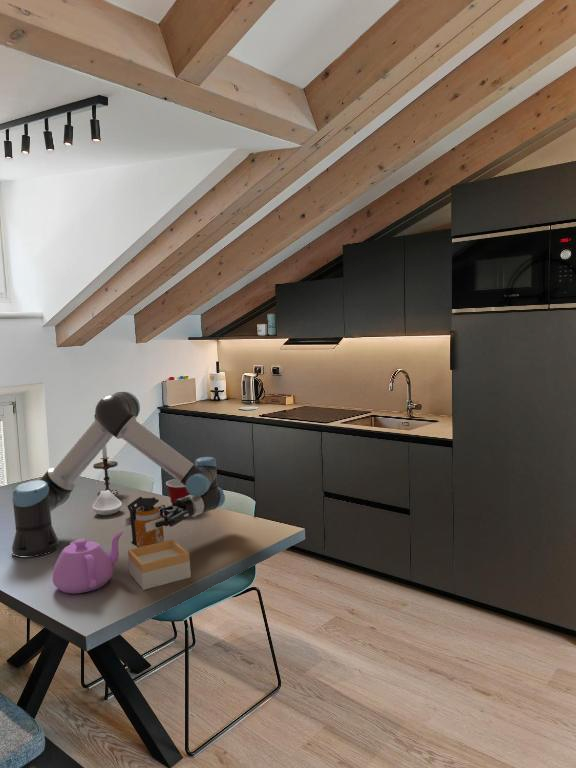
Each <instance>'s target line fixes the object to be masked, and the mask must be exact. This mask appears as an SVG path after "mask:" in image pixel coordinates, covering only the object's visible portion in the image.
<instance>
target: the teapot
mask: <svg viewBox="0 0 576 768" xmlns="http://www.w3.org/2000/svg"><path fill="white" fill-rule="evenodd" d="M124 532H125V531H124V530H123V531H120V532H117V533H116V534H115V535H113V537H112V539H111V549H110V551H109V552H108V553H107V552H106V551H105V549H104V548H103V547H102V545H100V544H99V543H98V542H96V541H91V540H90V541H88V540H87V539H85V538H79V539H76V540H74V541H71V542H69V545H67V546H65V547H64V548H63V549H62V551H61V552H60V554H59V556H58V558H57V560H56V562H55V564H54V568H53V572H52V583H53V585H54V587H56V588H57V589H58V590H59V591H61V592H63V593H66V594H81V593H87V592H88V593H89V592H92V591H94V590H97V589H100V588H102V587H103V586H105V585H106V584H107V583H108V582H109V581H110V579H111V577H112V576H113V573H114V566H115V565H116V564H117V562H118V558H119V552H120V551H119V540H120V538H121V536H122V535H123V534H124Z"/></svg>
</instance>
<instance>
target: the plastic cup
mask: <svg viewBox="0 0 576 768" xmlns="http://www.w3.org/2000/svg"><path fill="white" fill-rule="evenodd" d="M165 484H166V486H167V491H168V494H169V497H170V498H169V499H170V503H171V505H173V504H174V502H175V501H176V500H177V499H180V498H183V497H186V496H188V495H190V494H189V493H188V492H187V490H186V486H185V485H184V484H182V483H181V482H180V481H178V480H177V479H176V478H174V479H170V480H168V481H166V482H165Z"/></svg>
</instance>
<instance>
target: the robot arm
mask: <svg viewBox="0 0 576 768" xmlns="http://www.w3.org/2000/svg"><path fill="white" fill-rule="evenodd" d="M140 405H141V404H140V402H139V400H138V398H137V396H136V395H134V394H133V393H131V392H128V391H117V392H115V393H113V394H110V395H106V396H104V397H103V398H100V399H99V401H98V402H97V403H96V405H95V406H96V407H95V411H94V415H93V416H94V421H93V422H92V423H91V425H90V426H89V427H88V428H87V430H86V431H85V432H84V433H83V434H82V436H81V437H80V438H79V439H78V441H77V442H76V443H75V444H74V445H73V446H72V448H71V449H70V450H69V451H68V452H67V453H66V455H65V456H64V457H63V458H62V459H61V461H60V462H59V463H58V464H57V466H56V467H54V466H53V467H50V468H49V469H48V470H47V471H46V472H45V473H44V474H43V476H42V477H41V478H40V479H37V480H29V481H26V482H22V483H20V484H19V485H17V486H16V487H15V488H14V489H13V490H12V504H13V505H12V506H13V515H14V516H13V517H14V523H15V524H14V525H15V533H14V537H13V542H12V546H11V550H12V551H11V553H12V552H13V553H12V555H13V554H15V555H18V556H36V555H40V556H42V555H41V554H44V555H46V554H45V553H47V554H49V553H48V552H50V553H52V552H54V551H56V550H57V549H58V548H59V547H58V546H60V545H59V544H60V543H59V542H60V541H59V538H58V535H57V534H56V532H55V530H54V527H53V524H52V513H51V512H52V511H54V510H55V509H57V508H58V507H60V506H61V505H63V504H65V503H66V502H67V501H68V499H69V498H70V496H71V494H72V492H73V491H74V489H75V488H76V480H77V479H78V478H79V477H80V476H81V475H82V474H83V472H85V470H86V469H87V468H88V466H89V465H90V464H91V463H92V461H93V460H94V459H95V458H96V457H97V456H98V455H99V454H100V452H102V448H103V447H104V446H105V445H106V446H107V444H108V442H110V441H111V439H112V438H113V437H114V438H116V439H118V440H119V439H122V440H123V441H125V442H126V443H128V444H129V445H130V446H132V447H133V448H134V449H136V450H137V451H138V452H140V453H141V454H142V455H144V456H145V457H147V458H148V460H151V462H153V463H155V464H156V465H157V466H158V467H160V468H161V469H163V470H164V471H165V472H166V473H168V475H170V476H172V477H173V478H174V479H177V480H178V481H180V482H181V483H182V484H184V485H185V486H186V490H187V492H188V493H189V495H188V496H186V497H183V498H180V499H177V500H176V501H175V502H174V504H173V505H172V504H170V505H167V506H166V505H165V504H162V505H158V506H157V507H158V508H159V510H160V516H162V518H160V519H157V520H154V521H151V522H148V523H145V526H146V532H149V531H152V530H154V529H157V528H160V527H163V528H164V527H168V526H169V527H174V526H175V525H177V524H179V523H181V522H183V521H185V520H188V519H190V518H192V517H193V518H196V517H197V516H198V515H200V514H203V513H207V512H209V511H212V510H213V511H214V510H216V509H218V508H220V507H222V506H223V505H224V503H225V502H226V501H225V500H226V495H225V494H224V490H223V489H222V488H221V487H219V486H218V473H217V471H218V470H217V468H218V465H217V460H216V458H215V457H212V456H203V457H198V458H197V459H195V461H194V462H191V461H190V460H189V459H187V458H186V457H185V456H183V455H182V454H181V453H180V452H178V451H177V450H176V449H174V448H173V447H172V446H171V445H169V444H168V443H166V442H165V441H164V440H162V439H161V438H160V437H158V436H157V435H155V434H154V433H153V432H152V431H150V430H149V429H147V428H146V427H145V426H144V425H143V424H141V423H140V422H138V421H137V417H138V416H139V414H140V410H141V406H140ZM194 463H195V464H194ZM124 522H125V527H128V526H131V521H130V515H129V516H126V517H124ZM57 547H58V548H57ZM56 548H57V549H56ZM55 549H56V550H55ZM53 550H54V551H53ZM51 551H52V552H51ZM36 557H37V556H36Z"/></svg>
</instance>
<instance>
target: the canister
mask: <svg viewBox="0 0 576 768" xmlns="http://www.w3.org/2000/svg"><path fill="white" fill-rule="evenodd" d="M159 501H160V500H159V499H158V498H157V499H156V497H154V496H153V497H142V496H139V497H137V498H136V499H135V500H133V501H131V503H129V504H128V505H126V507H127V509H128V511H129V516H130V521H131V525H130V526H131V527H130V528H131V536H132V537H131V538H132V541H131V544H132V545H134V546H135V547H136V548H138V547H143V546H147V545H151V544H156V543H160V542H165V535H164V533H165V532H164V526H163V527H160V528H157V529H154V530H152V531H149V532H146V526H145V523H148V522H151V521H154V520H157V519H160V518H162V516H160V510H159V508H158V506H155V505H156V504H157V503H159ZM135 505H136V506H135Z"/></svg>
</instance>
